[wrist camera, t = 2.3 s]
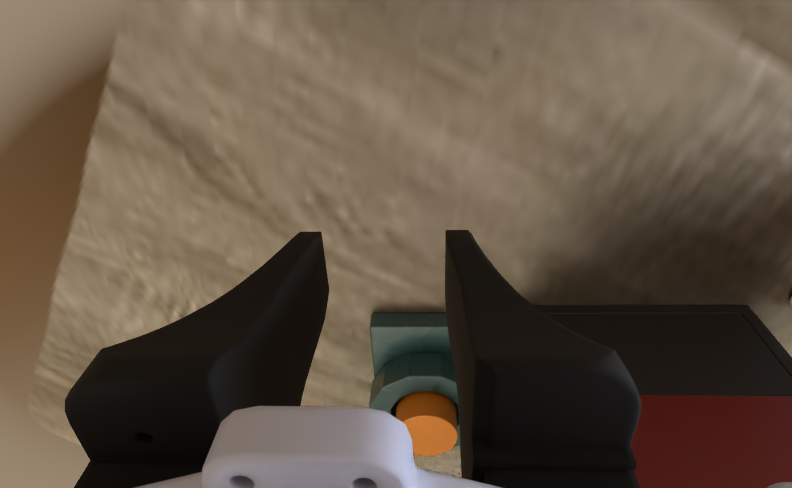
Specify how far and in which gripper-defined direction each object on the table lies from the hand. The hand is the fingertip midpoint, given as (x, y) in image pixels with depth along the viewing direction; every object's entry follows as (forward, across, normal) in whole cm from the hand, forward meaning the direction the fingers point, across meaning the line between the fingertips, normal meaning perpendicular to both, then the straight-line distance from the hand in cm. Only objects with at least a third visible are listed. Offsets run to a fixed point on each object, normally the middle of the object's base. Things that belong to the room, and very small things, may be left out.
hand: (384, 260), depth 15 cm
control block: (+10, -1, +16) cm, 19 cm away
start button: (+8, -1, +16) cm, 17 cm away
